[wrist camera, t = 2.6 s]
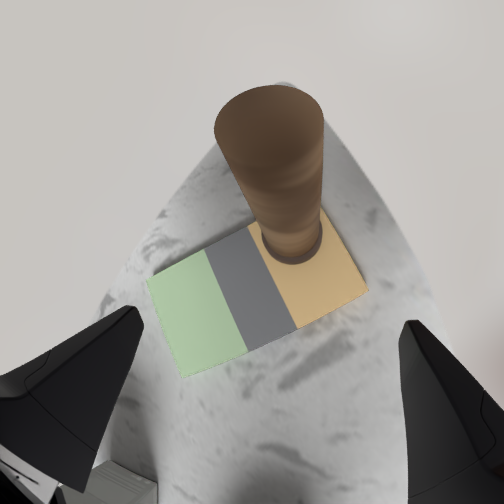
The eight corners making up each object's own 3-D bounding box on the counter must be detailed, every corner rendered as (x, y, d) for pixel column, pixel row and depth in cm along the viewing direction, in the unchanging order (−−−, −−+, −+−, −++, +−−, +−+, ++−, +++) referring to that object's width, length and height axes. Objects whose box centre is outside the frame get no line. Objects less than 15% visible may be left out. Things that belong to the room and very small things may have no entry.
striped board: (312, 199, 23) (312, 193, 22) (365, 292, 20) (368, 290, 19) (152, 282, 24) (145, 280, 23) (188, 376, 21) (182, 378, 20)
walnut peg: (299, 198, 22) (281, 68, 10) (333, 242, 20) (359, 128, 8) (252, 229, 22) (188, 118, 10) (284, 276, 21) (246, 196, 8)
